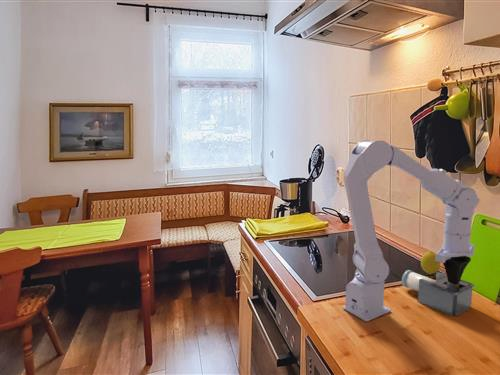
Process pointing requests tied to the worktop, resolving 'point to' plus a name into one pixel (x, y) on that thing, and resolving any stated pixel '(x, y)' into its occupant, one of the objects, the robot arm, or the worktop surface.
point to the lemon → (429, 263)
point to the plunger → (453, 285)
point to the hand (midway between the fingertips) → (453, 282)
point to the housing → (445, 295)
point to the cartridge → (413, 280)
